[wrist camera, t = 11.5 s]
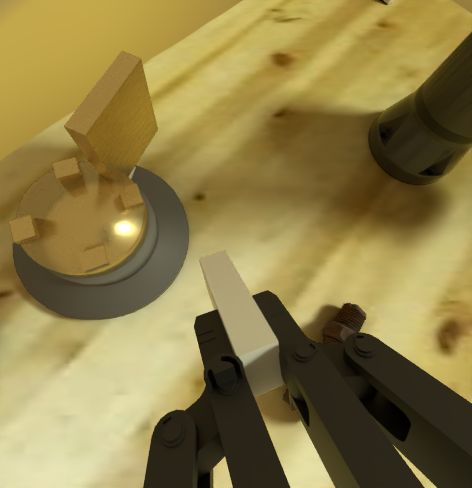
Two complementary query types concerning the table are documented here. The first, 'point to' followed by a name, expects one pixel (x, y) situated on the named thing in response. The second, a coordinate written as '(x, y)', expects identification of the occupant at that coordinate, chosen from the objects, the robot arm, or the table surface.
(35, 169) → the table surface
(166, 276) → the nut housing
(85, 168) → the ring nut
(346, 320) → the bolt
